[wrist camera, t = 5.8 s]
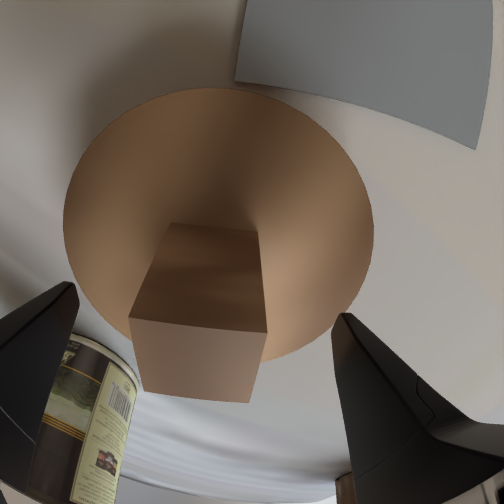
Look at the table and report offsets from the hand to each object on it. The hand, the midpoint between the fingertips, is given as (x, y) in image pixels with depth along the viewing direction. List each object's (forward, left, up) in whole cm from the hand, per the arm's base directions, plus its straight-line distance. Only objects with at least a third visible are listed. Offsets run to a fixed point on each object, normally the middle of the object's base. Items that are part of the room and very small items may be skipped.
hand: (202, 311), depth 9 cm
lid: (0, 0, -4) cm, 4 cm away
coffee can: (+11, +16, -7) cm, 21 cm away
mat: (-7, -14, -7) cm, 17 cm away
